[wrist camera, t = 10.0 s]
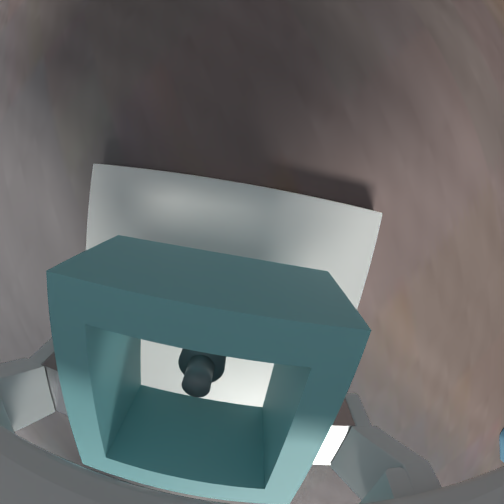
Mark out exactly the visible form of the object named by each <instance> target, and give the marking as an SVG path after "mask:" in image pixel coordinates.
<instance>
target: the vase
mask: <svg viewBox="0 0 504 504" xmlns="http://www.w3.org/2000/svg"><path fill="white" fill-rule="evenodd" d="M500 459H501V460H502V461H503V462H504V429H503V430H502V432H501V433H500Z"/></svg>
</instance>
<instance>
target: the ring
mask: <svg viewBox="0 0 504 504" xmlns="http://www.w3.org/2000/svg"><path fill="white" fill-rule="evenodd" d="M46 272H47V291H48V304H49V315H50V324H51V332H52V339H53V346H54V353H55V359H56V364H57V370H58V375H59V380H60V385H61V389H62V394H63V398H64V402H65V406H66V410H67V414H68V418H69V422H70V425H71V429H72V432H73V435H74V439H75V442H76V445H77V448H78V451H79V454H80V457H81V460H82V463H83V464H85V465H87V466H90V467H92V468H95V469H98V470H101V471H103V472H106V473H109V474H112V475H115V476H118V477H121V478H125V479H128V480H131V481H135V482H138V483H142V484H145V485H149V486H153V487H157V488H161V489H165V490H170V491H174V492H179V493H184V494H189V495H195V496H201V497H207V498H214V499H221V500H229V501H238V502H249V503H264V504H290V502H291V501H292V499H293V497H294V496H295V494H296V492H297V491H298V489H299V487H300V486H301V484H302V482H303V480H304V479H305V477H306V475H307V473H308V471H309V470H310V468H311V466H312V464H313V462H314V460H315V459H316V457H317V455H318V453H319V451H320V449H321V447H322V445H323V443H324V441H325V439H326V437H327V435H328V433H329V431H330V429H331V427H332V425H333V423H334V420H335V418H336V416H337V414H338V412H339V410H340V407H341V405H342V403H343V401H344V398H345V396H346V394H347V391H348V389H349V387H350V384H351V382H352V379H353V377H354V375H355V372H356V370H357V367H358V365H359V362H360V359H361V357H362V354H363V351H364V349H365V346H366V343H367V341H368V338H369V335H370V332H371V329H370V328H369V326H368V325H367V324H366V322H365V321H364V319H363V318H362V317H361V315H360V314H359V313H358V311H357V310H356V308H355V307H354V306H353V304H352V303H351V301H350V300H349V299H348V297H347V296H346V295H345V293H344V292H343V291H342V289H341V288H340V287H339V285H338V284H337V282H336V281H335V280H334V278H333V277H332V276H331V274H330V273H329V272H328V271H324V270H318V269H312V268H306V267H300V266H294V265H288V264H282V263H277V262H271V261H265V260H259V259H253V258H247V257H241V256H236V255H230V254H224V253H218V252H212V251H207V250H201V249H195V248H189V247H184V246H178V245H172V244H167V243H161V242H155V241H149V240H144V239H138V238H133V237H127V236H121V235H117V236H115V237H113V238H111V239H109V240H107V241H104V242H102V243H100V244H98V245H96V246H94V247H92V248H90V249H88V250H86V251H84V252H82V253H80V254H78V255H76V256H74V257H72V258H70V259H68V260H66V261H64V262H62V263H60V264H58V265H57V266H55V267H53V268H51V269H49V270H47V271H46ZM141 339H143V340H147V341H151V342H155V343H160V344H164V345H169V346H174V347H178V348H183V349H188V350H193V351H198V352H204V353H209V354H215V355H221V356H226V357H233V358H239V359H245V360H252V361H259V362H267V363H274V366H273V370H272V374H271V377H270V381H269V385H268V389H267V392H266V396H265V400H264V403H263V407H257V406H249V405H242V404H235V403H228V402H222V401H216V400H210V399H204V398H199V397H192V396H189V395H184V394H179V393H174V392H170V391H165V390H161V389H157V388H153V387H149V386H145V385H141Z"/></svg>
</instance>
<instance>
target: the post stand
mask: <svg viewBox="0 0 504 504" xmlns="http://www.w3.org/2000/svg"><path fill="white" fill-rule="evenodd" d="M382 214H383V213H381V212H378V211H374V210H371V209H366V208H362V207H358V206H354V205H350V204H345V203H341V202H336V201H332V200H327V199H323V198H318V197H313V196H309V195H304V194H299V193H294V192H289V191H284V190H279V189H273V188H268V187H263V186H257V185H252V184H246V183H240V182H234V181H228V180H222V179H216V178H210V177H203V176H197V175H190V174H183V173H176V172H168V171H161V170H153V169H145V168H136V167H127V166H118V165H108V164H93V170H92V178H91V186H90V196H89V207H88V220H87V237H86V250H88V249H90V248H92V247H94V246H96V245H98V244H100V243H102V242H104V241H107V240H109V239H111V238H113V237H115V236H117V235H121V236H127V237H133V238H138V239H144V240H149V241H155V242H161V243H167V244H172V245H178V246H184V247H189V248H195V249H201V250H207V251H212V252H218V253H224V254H230V255H236V256H241V257H247V258H253V259H259V260H265V261H271V262H277V263H282V264H288V265H294V266H300V267H306V268H312V269H318V270H324V271H328V272H329V273H330V274H331V276H332V277H333V278H334V280H335V281H336V282H337V284H338V285H339V287H340V288H341V289H342V291H343V292H344V293H345V295H346V296H347V297H348V299H349V300H350V301H351V303H352V304H353V306H354V307H355V308H356V310H357V308H358V305H359V302H360V298H361V295H362V292H363V288H364V285H365V281H366V278H367V274H368V271H369V267H370V263H371V259H372V256H373V252H374V248H375V244H376V240H377V236H378V231H379V227H380V223H381V218H382ZM273 366H274V363H267V362H259V361H252V360H245V359H239V358H233V357H226V356H221V355H215V354H209V353H204V352H198V351H193V350H188V349H183V348H178V347H174V346H169V345H164V344H160V343H155V342H151V341H147V340H143V339H141V385H145V386H149V387H153V388H157V389H161V390H165V391H170V392H174V393H179V394H184V395H189V396H192V397H199V398H204V399H210V400H216V401H222V402H228V403H235V404H242V405H249V406H257V407H263V403H264V400H265V396H266V392H267V389H268V385H269V381H270V377H271V374H272V370H273Z"/></svg>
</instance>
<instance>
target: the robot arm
mask: <svg viewBox="0 0 504 504" xmlns="http://www.w3.org/2000/svg"><path fill="white" fill-rule="evenodd" d="M55 411H58V412H60V413H63V414H65V415H68V414H67V410H66V406H65V402H64V398H63V394H62V389H61V385H60V380H59V375H58V370H57V364H56V359H55V353H54V346H53V339H52V338H51V339H50V340H49V341H48V342H46V343H45V344H44V345H43V346H42V347H41V348H40V349H39V350H38V351H37V352H36V353H34V354H33V355H32V356H31V357H30V358H29V359H26V358H22V359H18V360H14V361H9V362H5V363H1V364H0V504H228V503H220V502H213V501H206V500H200V499H194V498H189V497H184V496H179V495H174V494H169V493H165V492H161V491H157V490H153V489H149V488H145V487H142V486H138V485H134V484H131V483H128V482H125V481H121V480H118V479H115V478H112V477H109V476H106V475H104V474H101V473H98V472H95V471H93V470H90V469H87V468H85V467H82V466H80V465H77V464H75V463H73V462H70V461H68V460H66V459H63V458H61V457H59V456H57V455H55V454H53V453H50V452H48V451H46V450H44V449H42V448H40V447H38V446H36V445H34V444H32V443H31V442H29V441H27V440H25V439H23V438H21V437H20V436H18V435H16V434H15V431H17V430H19V429H21V428H23V427H25V426H28V425H30V424H32V423H34V422H36V421H38V420H40V419H42V418H44V417H46V416H48V415H50V414H52V413H54V412H55ZM313 464H324V465H330V467H331V468H332V469H333V470H334V471H335V472H336V473H337V474H338V476H339V477H340V478H341V479H342V480H343V481H344V482H345V483H346V484H347V485H348V486H349V487H350V488H351V490H352V491H353V492H354V493H355V494H356V495H357V496H358V497H359V498H360V499H361V500H362V501H361V502H360V503H359V504H504V466H502V467H500V468H497V469H495V470H493V471H490V472H487V473H485V474H482V475H480V476H477V477H474V478H471V479H468V480H465V481H462V482H459V483H456V484H453V485H449V486H446V487H441V485H440V483H439V481H438V479H437V477H436V475H435V473H434V471H433V469H432V467H431V465H430V463H429V461H427V460H426V459H424V458H423V457H421V456H419V455H418V454H416V453H415V452H413V451H412V450H410V449H409V448H407V447H406V446H404V445H403V444H401V443H400V442H399V441H397V440H396V439H394V438H393V437H391V436H390V435H388V434H387V433H385V432H384V431H383V430H381V429H380V428H378V427H377V426H372V425H371V423H370V420H369V418H368V416H367V414H366V411H365V409H364V407H363V404H362V402H361V400H360V398H359V396H358V394H356V393H347V394H346V396H345V398H344V401H343V403H342V405H341V407H340V410H339V412H338V414H337V416H336V418H335V420H334V423H333V425H332V427H331V429H330V431H329V433H328V435H327V437H326V439H325V441H324V443H323V445H322V447H321V449H320V451H319V453H318V455H317V457H316V459H315V460H314V462H313Z"/></svg>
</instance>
